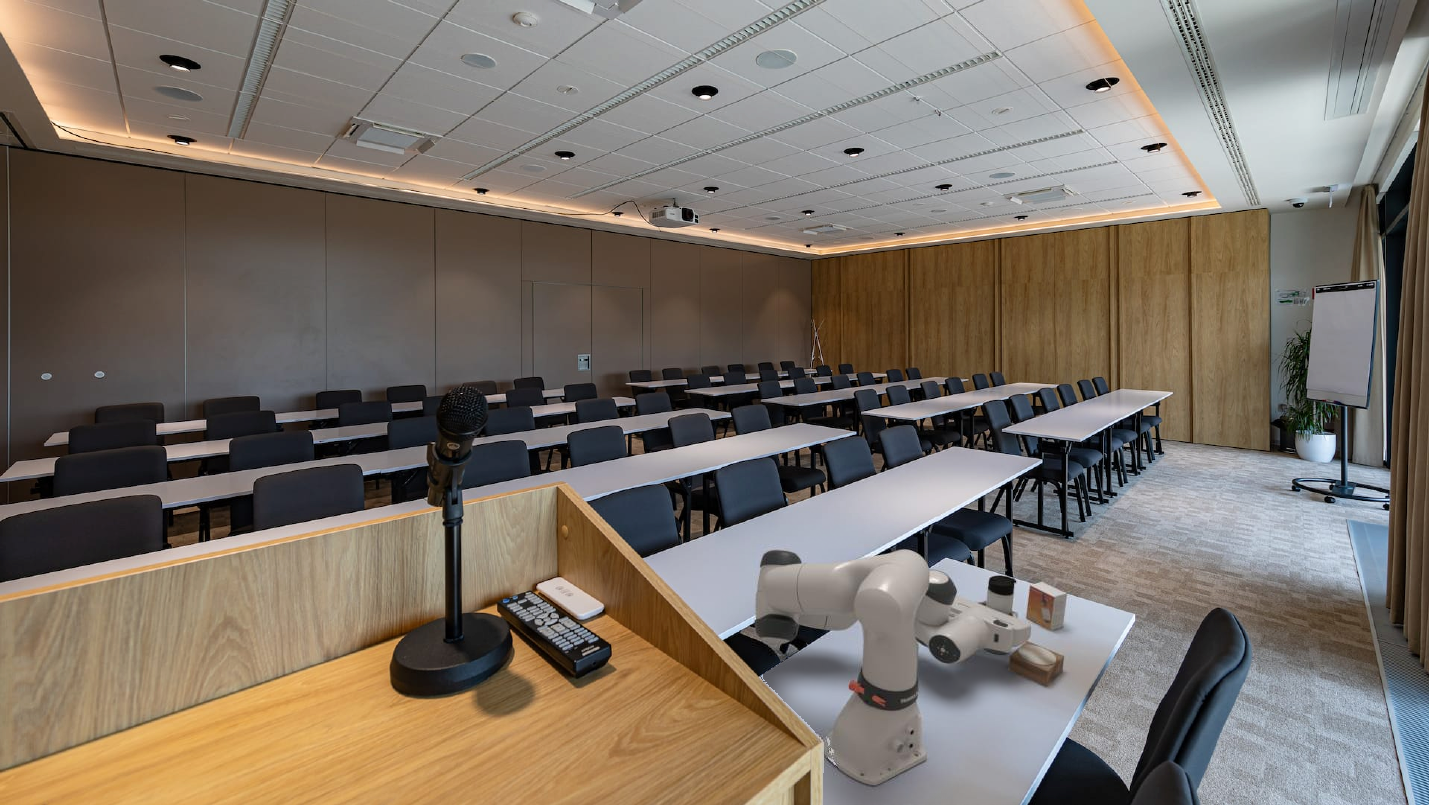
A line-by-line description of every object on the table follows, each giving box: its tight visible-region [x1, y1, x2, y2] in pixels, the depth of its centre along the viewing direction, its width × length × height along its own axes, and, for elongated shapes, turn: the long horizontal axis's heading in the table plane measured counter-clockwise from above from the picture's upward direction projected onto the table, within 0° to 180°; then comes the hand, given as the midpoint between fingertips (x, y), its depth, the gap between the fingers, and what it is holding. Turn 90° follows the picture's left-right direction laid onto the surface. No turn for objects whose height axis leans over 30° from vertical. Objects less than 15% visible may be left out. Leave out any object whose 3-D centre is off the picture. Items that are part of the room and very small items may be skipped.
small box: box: [1025, 581, 1068, 632], centre depth 175 cm, size 8×6×10 cm
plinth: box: [1008, 640, 1065, 687], centre depth 153 cm, size 10×9×4 cm
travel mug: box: [984, 574, 1017, 655], centre depth 161 cm, size 6×7×20 cm
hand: (1000, 608), depth 161 cm, fingers closed on travel mug, 6 cm apart
